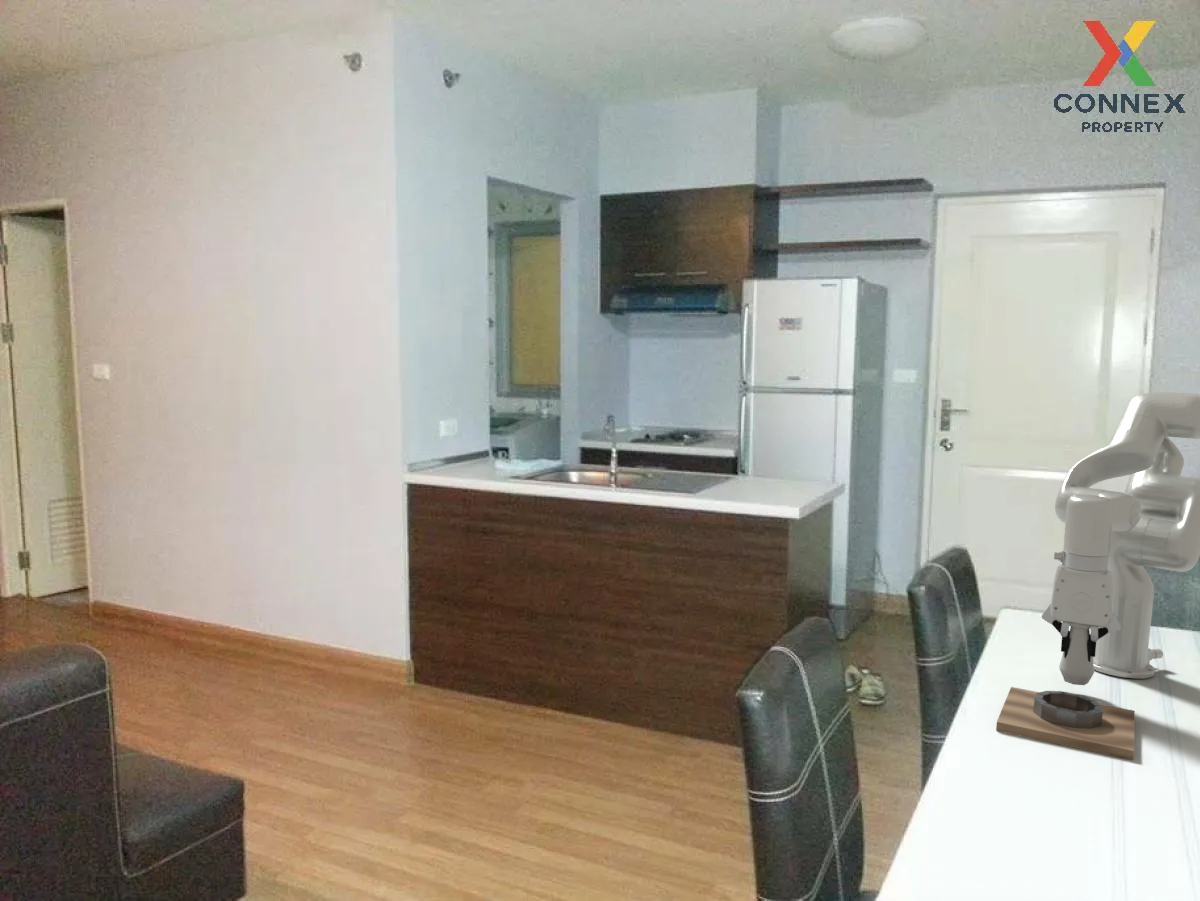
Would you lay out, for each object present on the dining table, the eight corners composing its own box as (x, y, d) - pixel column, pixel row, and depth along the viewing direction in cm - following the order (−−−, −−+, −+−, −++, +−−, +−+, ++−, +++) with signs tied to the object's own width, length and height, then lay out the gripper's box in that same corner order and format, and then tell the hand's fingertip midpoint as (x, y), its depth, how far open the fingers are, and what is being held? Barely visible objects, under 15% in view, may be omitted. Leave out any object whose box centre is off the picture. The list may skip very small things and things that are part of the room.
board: (1010, 694, 173) (1011, 686, 173) (1133, 718, 164) (1134, 710, 163) (996, 730, 156) (996, 721, 156) (1133, 760, 146) (1133, 751, 146)
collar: (1036, 700, 167) (1038, 686, 167) (1102, 713, 162) (1104, 699, 161) (1031, 719, 158) (1032, 704, 158) (1100, 733, 153) (1101, 718, 152)
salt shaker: (1097, 688, 172) (1102, 620, 170) (1063, 685, 173) (1068, 617, 171) (1087, 676, 177) (1092, 610, 176) (1054, 674, 179) (1059, 608, 177)
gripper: (1034, 560, 173) (1027, 655, 175) (1136, 572, 165) (1127, 672, 167) (1038, 552, 179) (1031, 644, 182) (1136, 563, 171) (1127, 659, 174)
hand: (1077, 656), depth 174 cm, fingers closed on salt shaker, 3 cm apart
